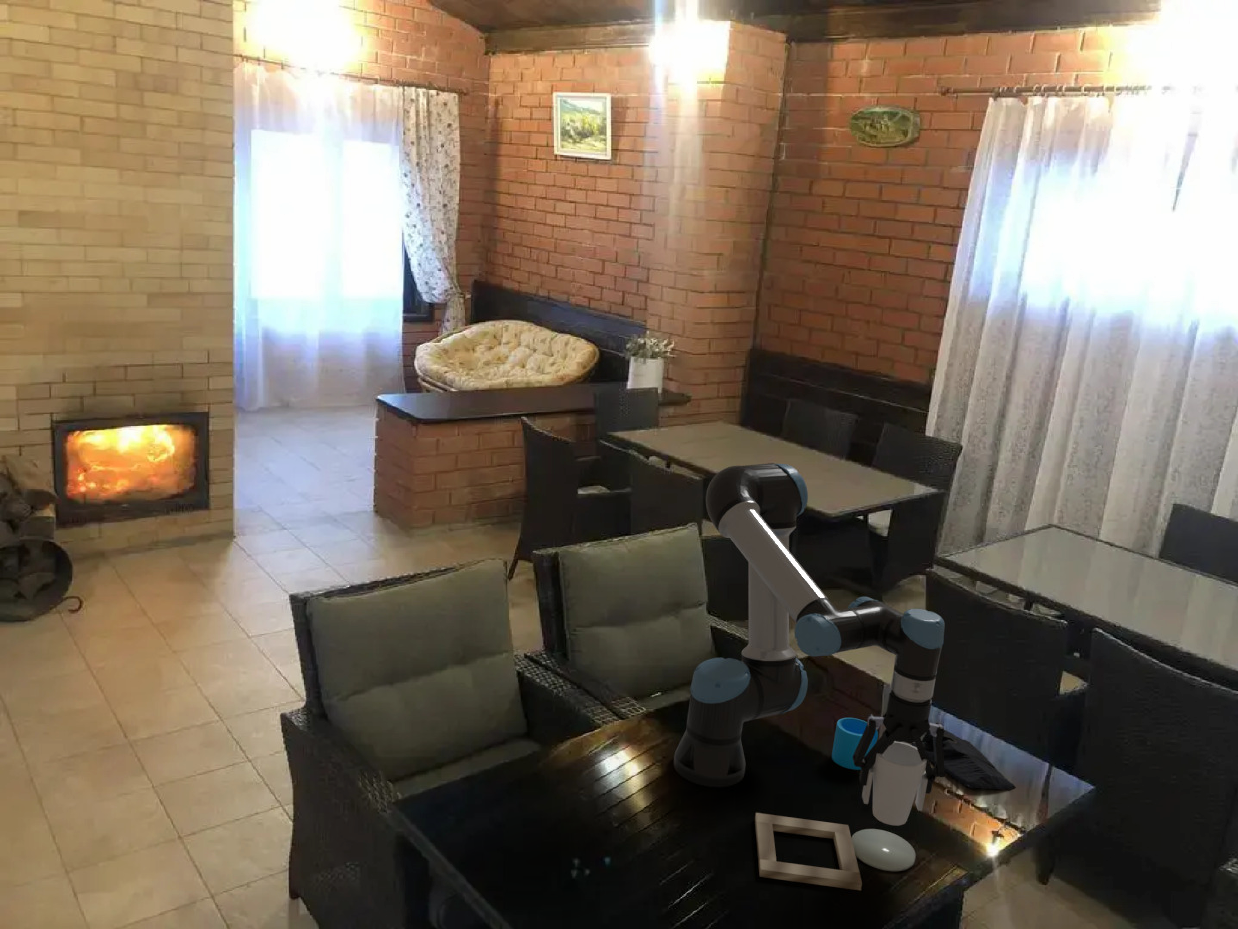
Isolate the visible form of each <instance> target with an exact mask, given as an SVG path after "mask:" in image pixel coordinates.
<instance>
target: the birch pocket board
mask: <svg viewBox="0 0 1238 929" xmlns="http://www.w3.org/2000/svg"><path fill="white" fill-rule="evenodd" d="M754 825H755V836H756V848H757V849H756V850H757V859H758V860H757V862H758V872H759V874H758V875H759V878H760V877H761V878H768V879H775V880H782V881H788V882H796V883H804V884H811V885H816V886H817V885H819V886H825V887H826V886H827V887H834V888H840V889H845V890H856V891H862V886H863V882H862V878H861V872H860V869H859V866H858V865H859V864H858V861H857V857H856V855H855V851H854V847H853V843H852V839H851V838H852V836H851V830H850V827H849V824H842V823H836V822H835V823H834V822H828V821H827V822H826V821H819V820H812V819H804V818H800V817H799V818H797V817H788V816H783V815H776V814H775V815H774V814H769V813H761V812H755V816H754ZM774 832H780V833H787V834H795V835H803V836H810V837H817V838H823V839H824V838H825V839H831V840H833V842H834V843H833V844H834V847H835V851H836V857H837V862H838V866H839V869H836V868H835V869H834V868H828V867H822V866H821V867H819V866H814V865H813V866H812V865H805V864H800V863H799V864H798V863H792V862H791V863H790V862H783V861H777V856H776V854H777V853H776V847H775V837H774V836H775V835H774Z"/></svg>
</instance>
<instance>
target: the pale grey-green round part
mask: <svg viewBox="0 0 1238 929" xmlns="http://www.w3.org/2000/svg"><path fill="white" fill-rule="evenodd" d="M851 839H852V843H853V847H854V851H855V856H856V859H859V861H861V862H863V863H864V864H866V865H868V866H870V867H873V868H874V869H878V870H882V871H886V872H887V871H888V872H901V871H907V870H908V869H910V868H911V867H913V866H914V864H915V862H916V851H915V849H914V848H913V845H911V844H910V843H909V841H907V840H906V839H904V838H903V837H901V836H899V835H897V834H895V833H894V832H893V833H892V832H889V831H886V830H883V829H879V828H878V829H876V828H865V829H861V830H859V831H856V832H855V833H853V834H852V836H851Z"/></svg>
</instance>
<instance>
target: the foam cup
mask: <svg viewBox="0 0 1238 929" xmlns="http://www.w3.org/2000/svg"><path fill="white" fill-rule="evenodd" d="M926 763H927V760H926V759H923V761H922V760H921V758H920V755H919V752H918V750H917V748H916V747H914V746H912V744H911V743H907V742H896V741H894V743H893V744H892V745H890V746H889V747H888V748H887V749H886V750H885V752H884V753H883V754H882V755H881V754H878V753H877V755H876V761H875V764H874V765H873V778H872V814H873V816H874V817H875V819H876V820H878V821H879V822H881V823H883V824H885V825H890V826H902V825H905V824H906V822H908V818H909V816H910V813H911V811H912V807H913V804H914V802H915V801H914V800H916V795H917V790H918V787H919V784H920V781H921V778H922V775H923V773H924V772H925V773H926V771H925V769H926Z"/></svg>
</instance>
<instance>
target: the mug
mask: <svg viewBox="0 0 1238 929" xmlns="http://www.w3.org/2000/svg"><path fill="white" fill-rule="evenodd" d="M866 726H867V721H865V720H864V719H863V720H862V719H859V718H856V717H855V718H854V717H843V718H840V719H838V720H837V722H836V727H835V728H836V729H835V733H834V739H833V740H834V741H833V745H832V746H833V747H832V752H831V760H832V761H833V762H834V763H835V764H837V765H839V766H841V767H843V768H845V769H849V770H857V771H858V770H860V771H861V768H860V767H856V766H855V765H854V762H853V758H852V757H853V755H854V752H855V750H856V748H857V746H858V744H859V741H860V739H861V737H862V735H863V733H864V731H865V728H866ZM878 740H879V732H878V729H877V730H876V731H875V735H874V737H873V739H872V741H871V744H870V746H869V748H868V750H867V752H866V754H865V756H866V755H867V753H868V752H869V751H870V750H871V749H872V747H873V746H874V745H875V744H876V742H877V741H878Z"/></svg>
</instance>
